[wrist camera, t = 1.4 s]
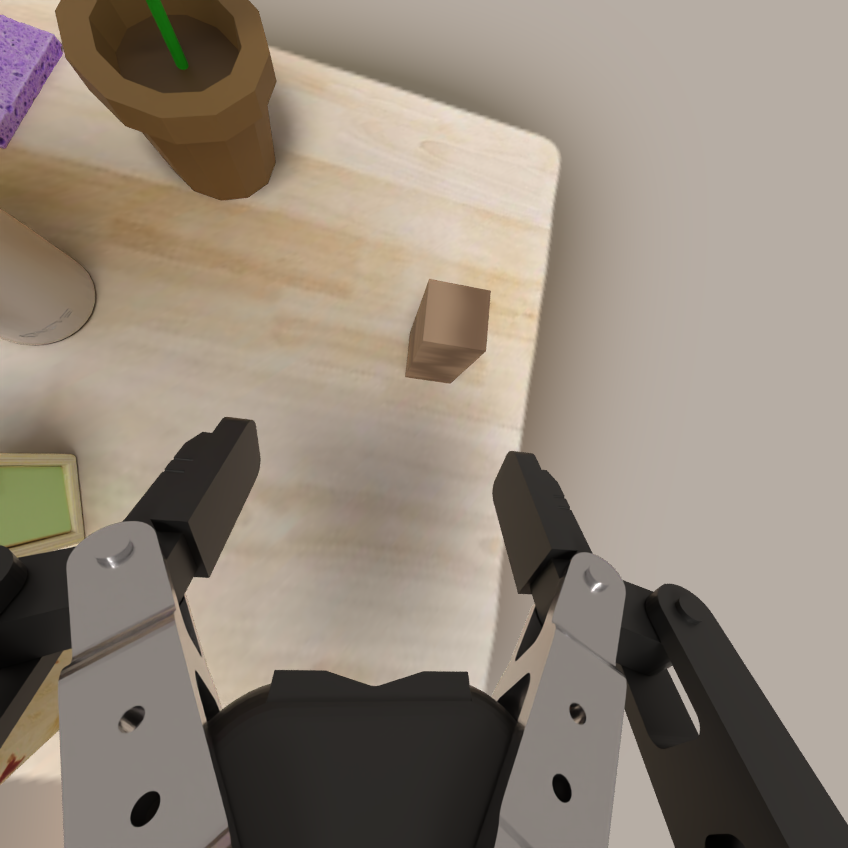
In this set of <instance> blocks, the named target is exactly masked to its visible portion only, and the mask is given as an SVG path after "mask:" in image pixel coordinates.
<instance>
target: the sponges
mask: <svg viewBox="0 0 848 848" xmlns="http://www.w3.org/2000/svg"><path fill="white" fill-rule="evenodd" d="M61 46H62V44H61V43H60V41H59V40H58V39H57V38H56V37H55V35H54V34H51V33H49V32H46V31H44V30H40V29H38V28H35V27H32V26H30V25H27V24H25V23H19V22H17V21H14V20H13V19H11V18H7V17H6V16H4V15H0V148H3V149H4V148H6V147H7V145H8V143H9V141H10V140H11V138H12V137H13V135H14V133H15V131H16V130H17V128H18V127H19V125H20V123H21V121H22V119H23V118H24V117H25V115H26V113H27V112H28V109H29V108H30V107H31V105H32V103H33V99H35V98H36V97H37V95H38V94H39V92H40V90H41V89H42V86H43V84H44V83H45V82H46V80H47V78H48V77H49V75H50V73H51V72H52V70H53V68H54V66H55V65H56V64H57V62H58V61H59V59H60V57H61V56H62V54H63V52H62V51H61V48H60V47H61Z"/></svg>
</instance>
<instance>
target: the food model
mask: <svg viewBox="0 0 848 848" xmlns="http://www.w3.org/2000/svg"><path fill="white" fill-rule="evenodd" d="M71 660H72V649H68V650H64V651H63V652H62V654H61V655H60V657H59V658H58V660H57V661H56V663H55V664H54V666H53V668H52V669H51V671H50V672H49V674H48V675H47V677H46V678H45V680H44V682H43V683H42V685H41V686H40V688H39V689H38V691H37V692H36V694H35V696H34V697H33V699H32V700H31V702H30V703H29V705H28V706H27V708H26V710H25V711H24V713H23V714H22V716H21V717H20V719H19V721H18V722H17V724H16V725H15V727H14V728H13V730H12V731H11V733H10V735H9V736H8V738H7V739H6V741H5V742H4V744H3V745H2V747H1V749H0V785H1V784H2V783H3V782H4V781H5V780H6V779H7V778H8V777H9V776H10V775H11V774H12V773H13V772H14V771H15V770H16V769H18V768H19V767H20V766H21V765H22V764H23V763H24V762H25V761H26V760H27V759H28V758H29V757H30V756H31V755H33V754H34V753H35V752H36V751H37V750H38V749H39V748H40V747H41V746H42V745H43V744H44V743H45V742H47V741H48V740H49V739H50V738H51V737H52V736H53V735H54V734H55V733H56V732H57V731H58V730H59V707H58V680H59V676H60V673H61V671H62V669H63V668H64V667H65V666H67V665H69V664H70V663H71Z"/></svg>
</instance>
